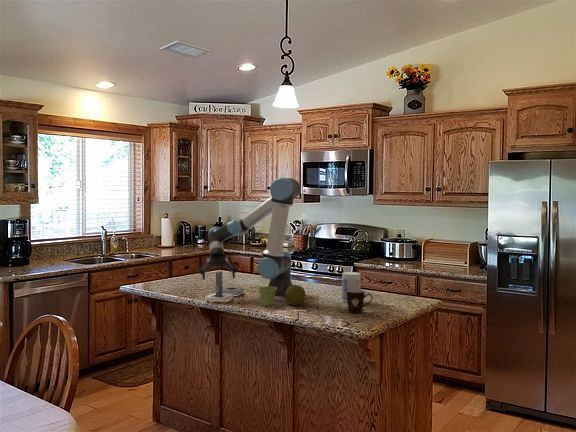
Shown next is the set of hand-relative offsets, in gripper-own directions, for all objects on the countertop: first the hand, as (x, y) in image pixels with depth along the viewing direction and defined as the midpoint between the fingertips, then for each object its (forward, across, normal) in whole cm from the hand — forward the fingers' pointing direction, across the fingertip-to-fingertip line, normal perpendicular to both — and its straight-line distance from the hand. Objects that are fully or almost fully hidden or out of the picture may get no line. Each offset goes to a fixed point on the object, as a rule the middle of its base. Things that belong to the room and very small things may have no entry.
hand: (219, 283), depth 269 cm
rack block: (+5, 0, -8) cm, 10 cm away
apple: (+19, -36, +5) cm, 41 cm away
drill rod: (+5, 0, -8) cm, 10 cm away
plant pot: (+17, -23, +3) cm, 29 cm away
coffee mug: (+35, -62, +20) cm, 74 cm away
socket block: (-5, -8, -18) cm, 20 cm away
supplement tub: (+17, -67, +3) cm, 69 cm away
